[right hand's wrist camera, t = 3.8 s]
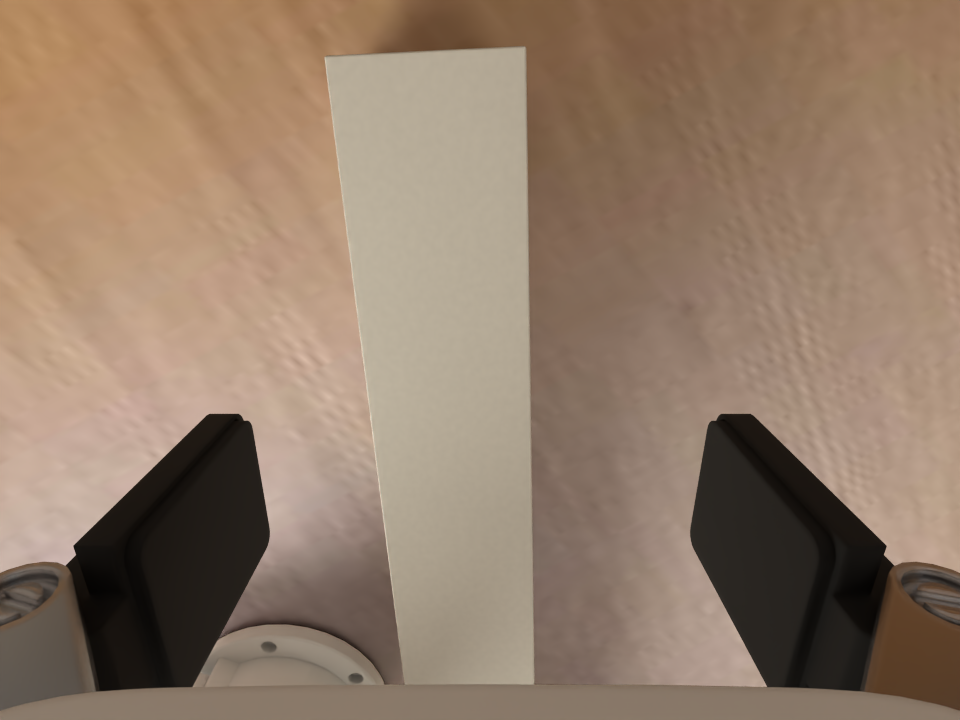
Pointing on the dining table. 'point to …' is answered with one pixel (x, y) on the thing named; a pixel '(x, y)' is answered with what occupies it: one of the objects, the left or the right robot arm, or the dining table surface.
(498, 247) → the bar
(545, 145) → the dining table surface
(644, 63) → the dining table surface
